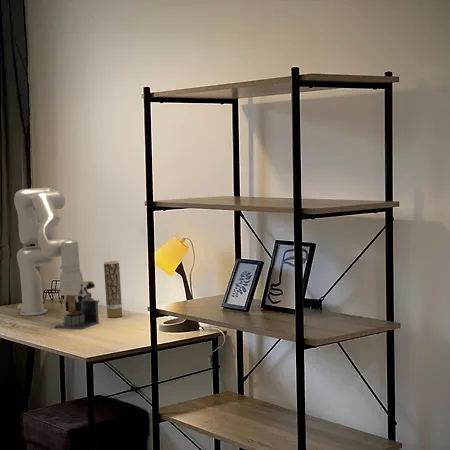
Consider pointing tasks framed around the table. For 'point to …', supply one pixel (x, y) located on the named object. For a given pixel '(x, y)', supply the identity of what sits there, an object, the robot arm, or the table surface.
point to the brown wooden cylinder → (72, 306)
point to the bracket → (82, 316)
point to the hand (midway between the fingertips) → (73, 310)
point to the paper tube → (113, 289)
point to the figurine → (87, 286)
